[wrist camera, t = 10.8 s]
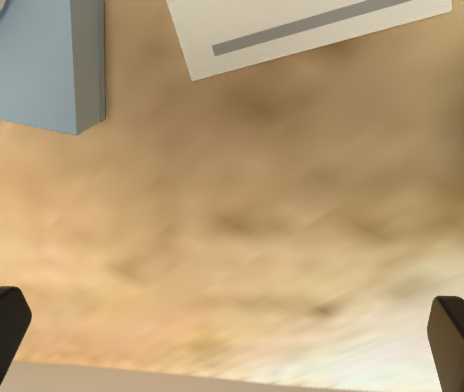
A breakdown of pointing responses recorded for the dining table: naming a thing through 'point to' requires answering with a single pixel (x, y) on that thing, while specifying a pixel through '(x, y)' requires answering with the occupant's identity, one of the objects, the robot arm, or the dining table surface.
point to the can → (2, 4)
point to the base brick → (52, 64)
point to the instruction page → (280, 27)
